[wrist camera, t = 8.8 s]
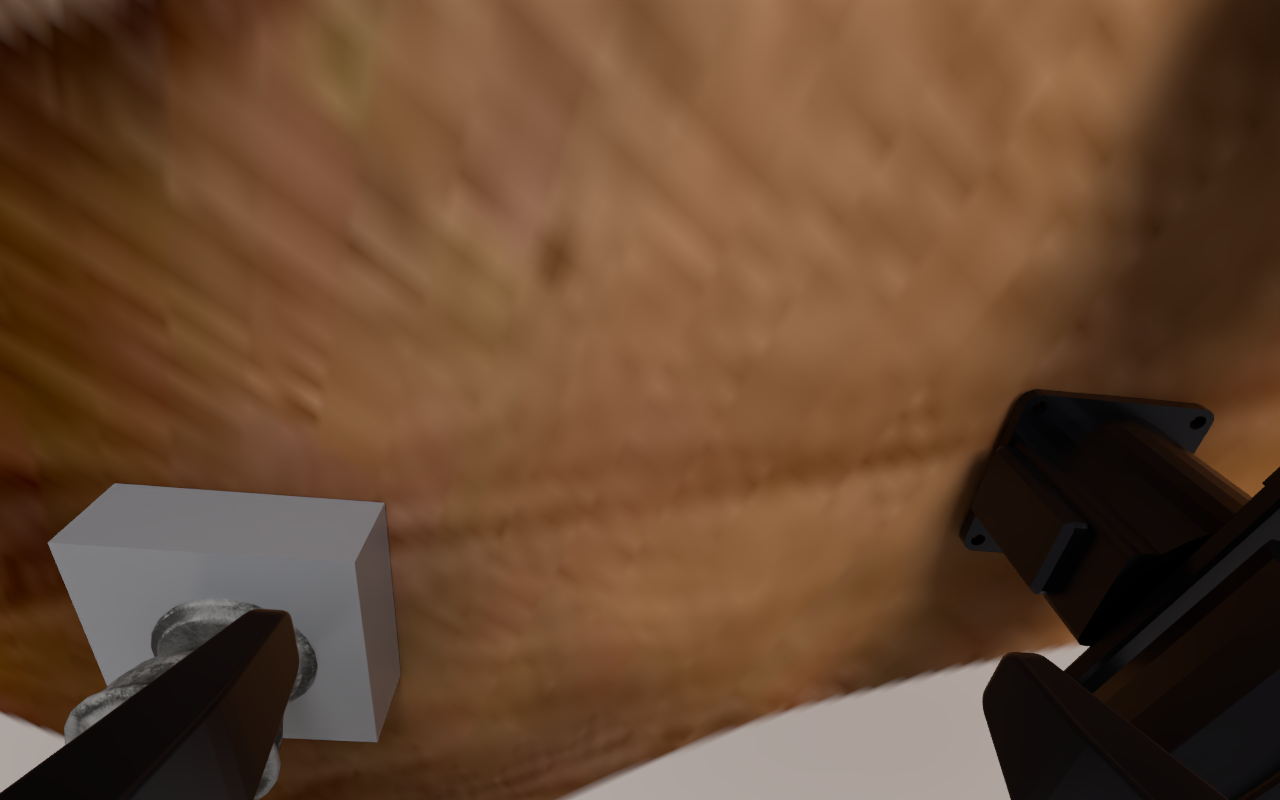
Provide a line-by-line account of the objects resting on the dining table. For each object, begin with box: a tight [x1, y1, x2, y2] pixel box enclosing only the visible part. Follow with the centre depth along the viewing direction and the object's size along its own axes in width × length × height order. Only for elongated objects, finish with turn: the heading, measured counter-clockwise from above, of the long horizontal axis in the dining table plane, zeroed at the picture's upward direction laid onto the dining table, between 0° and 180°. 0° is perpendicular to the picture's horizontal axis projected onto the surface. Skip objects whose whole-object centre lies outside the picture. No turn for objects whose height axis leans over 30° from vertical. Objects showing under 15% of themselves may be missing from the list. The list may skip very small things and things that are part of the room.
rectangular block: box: [48, 483, 401, 742], centre depth 24 cm, size 9×9×3 cm
